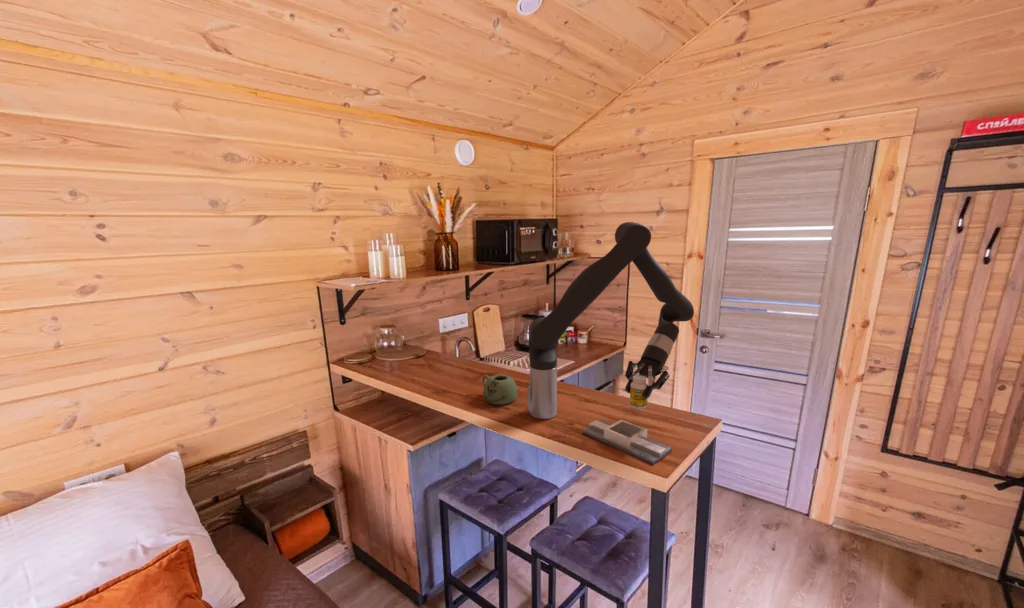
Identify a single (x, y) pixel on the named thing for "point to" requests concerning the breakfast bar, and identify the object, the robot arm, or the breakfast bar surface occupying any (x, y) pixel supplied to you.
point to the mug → (499, 389)
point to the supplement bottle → (638, 392)
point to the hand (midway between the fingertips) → (635, 394)
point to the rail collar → (628, 439)
